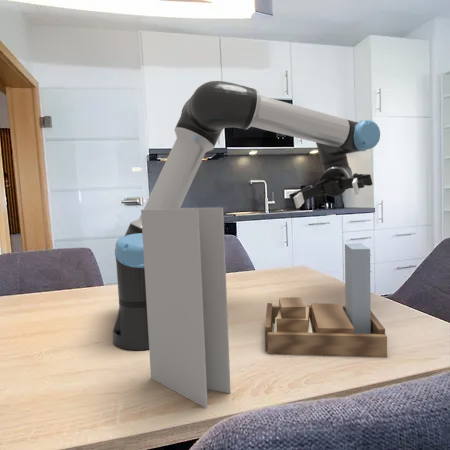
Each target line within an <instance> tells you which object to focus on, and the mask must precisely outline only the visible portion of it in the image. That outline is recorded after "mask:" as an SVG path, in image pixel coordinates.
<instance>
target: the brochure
mask: <svg viewBox="0 0 450 450" xmlns="http://www.w3.org/2000/svg"><path fill="white" fill-rule="evenodd" d="M140 216H141V218H142V235H143V251H144V268H145V285H146V302H147V319H148V335H149V349H148V350H149V366H150V379H152V380H154V381H155V382H156V383H159V384H161V385H163V386H164V387H166V388H169V389H170V390H172V391H174V392H175V393H178V394H179V395H180V396H183V397H185V398H187V399H189V400H190V401H192V402H194V403H195V404H197V405H200V407H202V408H204V409H207V408H208V390H210V391H214V392H220V393H225V394H231V393H232V392H231V369H230V342H229V321H228V319H229V317H228V316H229V315H228V294H227V293H228V292H227V270H226V246H225V244H226V243H225V220H224V207H180V208H166V209H152V210H143V209H141V210H140Z"/></svg>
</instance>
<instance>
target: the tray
mask: <svg viewBox="0 0 450 450" xmlns="http://www.w3.org/2000/svg"><path fill="white" fill-rule="evenodd" d="M305 307H309V318H310V322H311V327H312V333H294V332H274V331H273V330H274V328H273V326H274V325H273V324H275V317H277V315H278V313H279V310H280V309H279V305H273V303H272V302H267V304H266V314H265V319H264V321H265V322H264V345H265V346H264V347H265V348H264V349H265V352H267V354H270V355H299V356H302V355H303V356H334V357H335V356H337V357H338V356H340V357H342V356H343V357H373V358H376V357H377V358H388V336H387V335H386V329H385V327H384V325H382V323H381V322H380V321H379V319H378V318H377V316H376V315H375V314H374V313H373V312H372V311H371V334H354V327H353V325H352V324H351V322H350V320H349V318H348V316H347V315H346V305H342V304H341V303H318V302H317V303H312V302H311V303H310V305H305Z"/></svg>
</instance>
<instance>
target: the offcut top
mask: <svg viewBox="0 0 450 450" xmlns="http://www.w3.org/2000/svg"><path fill="white" fill-rule="evenodd" d="M278 306H279V309H280V313H281V317H282V319H296V318H306V307H305V306H306V305H305V303H304V301H303V297H300V296H297V297H294V296H292V297H288V296H287V297H278Z"/></svg>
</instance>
